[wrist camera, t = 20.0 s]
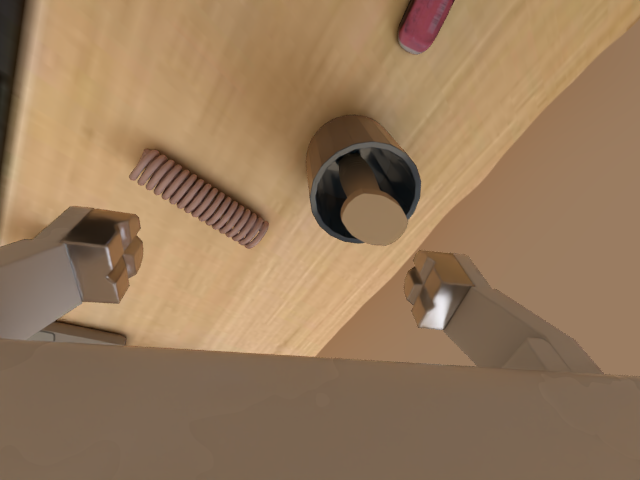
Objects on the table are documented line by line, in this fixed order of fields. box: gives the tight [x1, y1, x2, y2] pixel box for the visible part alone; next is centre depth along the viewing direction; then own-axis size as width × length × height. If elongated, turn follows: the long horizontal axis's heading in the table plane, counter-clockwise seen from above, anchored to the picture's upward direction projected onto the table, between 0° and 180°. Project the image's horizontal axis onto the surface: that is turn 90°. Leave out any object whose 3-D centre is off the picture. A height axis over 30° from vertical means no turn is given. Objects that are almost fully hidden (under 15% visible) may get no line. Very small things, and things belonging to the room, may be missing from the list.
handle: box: [338, 153, 408, 246], centre depth 36 cm, size 5×6×15 cm
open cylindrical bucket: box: [306, 115, 421, 243], centre depth 39 cm, size 12×12×11 cm
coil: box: [129, 149, 269, 249], centre depth 42 cm, size 5×5×18 cm
